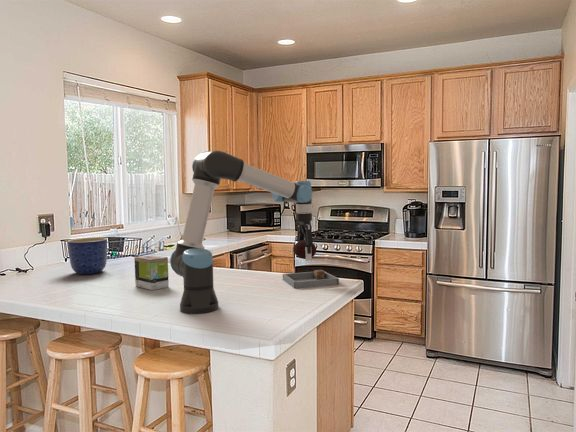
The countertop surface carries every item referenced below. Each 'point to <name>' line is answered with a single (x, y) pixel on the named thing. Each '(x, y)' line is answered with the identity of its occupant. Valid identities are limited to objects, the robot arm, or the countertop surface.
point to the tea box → (151, 272)
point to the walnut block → (318, 274)
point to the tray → (309, 280)
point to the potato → (303, 249)
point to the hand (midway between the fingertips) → (305, 258)
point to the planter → (88, 254)
